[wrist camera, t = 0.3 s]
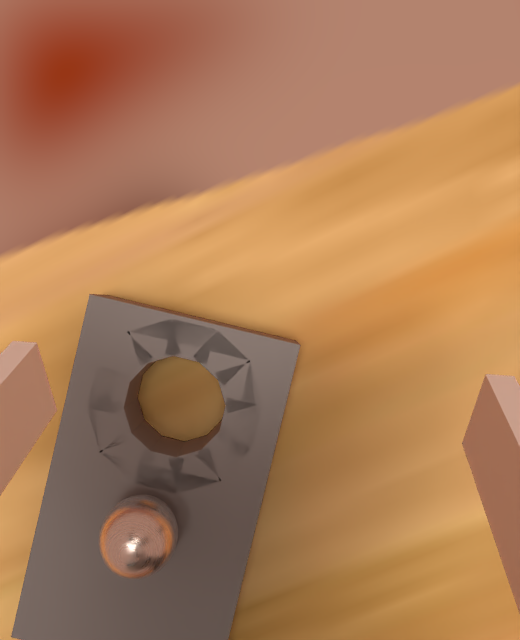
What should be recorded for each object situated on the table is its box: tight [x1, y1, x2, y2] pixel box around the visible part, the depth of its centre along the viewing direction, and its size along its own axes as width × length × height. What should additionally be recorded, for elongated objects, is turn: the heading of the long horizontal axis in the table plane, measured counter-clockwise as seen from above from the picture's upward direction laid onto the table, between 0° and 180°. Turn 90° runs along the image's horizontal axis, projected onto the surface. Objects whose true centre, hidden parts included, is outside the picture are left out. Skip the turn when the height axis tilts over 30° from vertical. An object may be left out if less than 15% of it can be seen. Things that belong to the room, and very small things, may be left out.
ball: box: [99, 495, 178, 579], centre depth 25 cm, size 4×4×4 cm
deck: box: [11, 294, 300, 640], centre depth 28 cm, size 20×12×3 cm, turn 167°
